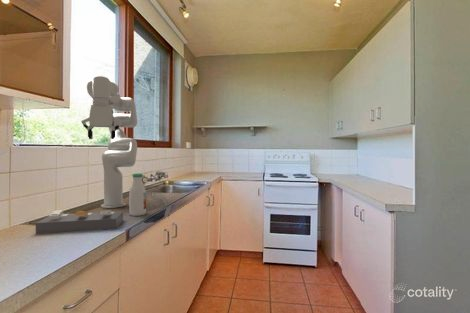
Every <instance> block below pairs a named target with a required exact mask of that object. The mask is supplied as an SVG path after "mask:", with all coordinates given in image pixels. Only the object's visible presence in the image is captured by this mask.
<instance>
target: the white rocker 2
mask: <svg viewBox="0 0 470 313" xmlns="http://www.w3.org/2000/svg"><path fill="white" fill-rule="evenodd" d="M99 212H100V214H111V212H112V210H111V209H103V210H100V211H99Z"/></svg>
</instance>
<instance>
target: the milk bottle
mask: <svg viewBox="0 0 470 313" xmlns="http://www.w3.org/2000/svg"><path fill="white" fill-rule="evenodd" d="M143 176H144V175H143V173H132V182H131V185H130V187H129V196H128V198H129V199H128V201H129V203H128V204H129V205H128V207H129V208H128V209H129V211H128V212H129V214H128V215H130V216H132V217H133V216H134V217H138V216H144V215H146V214H147V191H146V186H145V185H144V182H143V178H144V177H143Z"/></svg>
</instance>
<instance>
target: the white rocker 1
mask: <svg viewBox="0 0 470 313" xmlns="http://www.w3.org/2000/svg"><path fill="white" fill-rule="evenodd" d="M62 214H64V210H62V209H59V210H57V209H56V210H53V211H52V212H51V213H50V214H49V215H48V216H49V219H59V218H60V217H61V215H62Z"/></svg>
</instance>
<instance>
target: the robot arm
mask: <svg viewBox="0 0 470 313" xmlns="http://www.w3.org/2000/svg"><path fill="white" fill-rule="evenodd" d="M85 88H86V92H87V94H88V95H89V96H90V97H91V98H92V104H91V105H90V110H89V117H87V118H85V119H82V120H81V121H80V123H81V124H82V125H83V128H85V129H86V130H87V137H88V139H89V140H93V139H94V138H93V135H94V134H93V129H94V128H108V130H109V133H110V137H109V141H108V146H107V149H108V150H106V151H103V153H102V155H101V161H102V166H103V203H102V204H100V207H101V208H102V209H117V208H122V207H124V206H126V202H124V201H123V199H124V198H123V173H122V172H121V170H120V169H119V168H132V167H134V166H135V164H136V162H137V161H136V160H137V153H138V152H137V151H138V143H137V140H136V139H135V138H133V137H127V136H126V133H125V131H123V130H122V129H121V128H135V127H136V126H138V115H137V108H136V107H137V106H136V103H135V100H134V99H133V98H132V97H122V96H121V95H120V94H119V86H118V84H117V83H116V82H115V81H114V80H111V79H110V78H109V77H107V76H104V75H96V76H95V75H94V76H93V77H92V79H90V80H88V81H87V82H86V84H85ZM114 112H126V113H114ZM88 122H89V125H88V124H87V123H88Z"/></svg>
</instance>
